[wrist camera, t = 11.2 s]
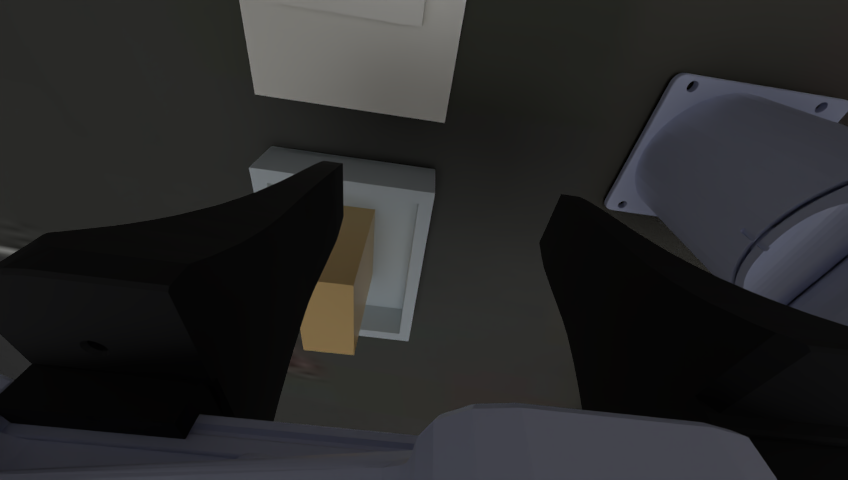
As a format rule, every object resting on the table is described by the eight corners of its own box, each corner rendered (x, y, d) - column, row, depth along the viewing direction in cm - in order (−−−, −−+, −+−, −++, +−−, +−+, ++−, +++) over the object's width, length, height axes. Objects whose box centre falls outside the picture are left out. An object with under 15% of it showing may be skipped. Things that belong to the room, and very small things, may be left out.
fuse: (375, 209, 22) (353, 285, 16) (372, 274, 25) (353, 355, 20) (329, 203, 22) (292, 278, 16) (333, 270, 25) (303, 349, 20)
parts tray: (435, 169, 20) (435, 193, 18) (410, 311, 29) (408, 341, 26) (271, 145, 20) (248, 167, 17) (294, 298, 28) (281, 326, 26)
